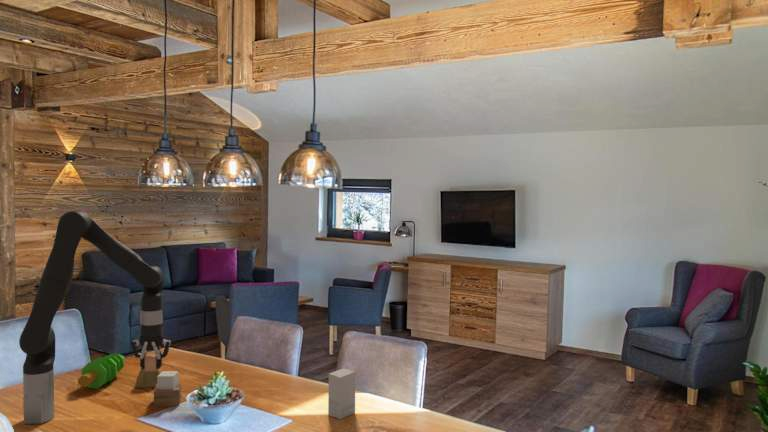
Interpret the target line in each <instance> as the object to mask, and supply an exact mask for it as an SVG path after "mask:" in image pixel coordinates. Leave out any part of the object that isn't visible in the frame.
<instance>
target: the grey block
mask: <svg viewBox="0 0 768 432" xmlns="http://www.w3.org/2000/svg"><path fill="white" fill-rule="evenodd" d="M179 380H180V379H179V370H178V371H177V370H176V371H174V370H173V371H172V370H171V371H169V370H167V371H165V370H163V371H161V372H160V374H159V375H158V376H157V389H174V388H175V387H176V386H177V385H178V384H179Z"/></svg>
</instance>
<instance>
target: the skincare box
mask: <svg viewBox="0 0 768 432" xmlns="http://www.w3.org/2000/svg"><path fill="white" fill-rule="evenodd" d="M327 403H328V411H327V413H328V416H329V417H330V416H331V417H333V418H335V417H336V419H339V420H342V419H344V418H346V417H348V416H351V415H353V414H355V413H356V371H355V370H350V369H347V368H344V367H343V368H340V369H338V370H335V371H332V372H330V373H328V402H327Z"/></svg>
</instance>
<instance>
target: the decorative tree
mask: <svg viewBox="0 0 768 432" xmlns="http://www.w3.org/2000/svg"><path fill="white" fill-rule="evenodd" d="M124 366H125V356H124V355H122V354H119V353H110V354H108V355H105V356H104V357H98V358H96V359H93V360H92V361H91V362H88V363H87V364H86V365H84V366H83V368H82V369H81V376H80V377H79V378H77V384H78V385H79V386H80V387H83V388H87V387H88V388H89V389H100V388H101V387H102V386H103V385H106V384H107V383H111V381H113V379H114V378H115V377H117V375H118V373H119V372H120V371H121V370H122V369H124Z"/></svg>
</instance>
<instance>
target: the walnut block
mask: <svg viewBox="0 0 768 432" xmlns="http://www.w3.org/2000/svg"><path fill="white" fill-rule="evenodd" d="M181 400H182V383H181V381H180V382H179V384H178V385H177V386H176V387H175V388H174V389H157V384H156V387H154V390H153V408H159V407H171V406H173V407H174V406H180V405H181V404H180V403H181Z"/></svg>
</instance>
